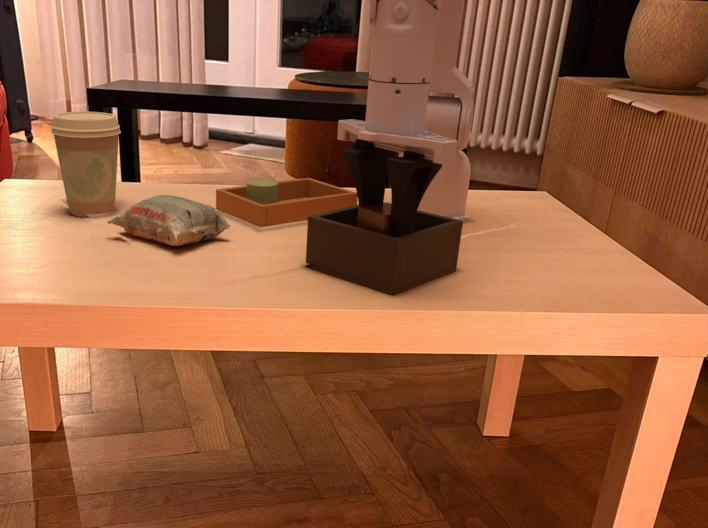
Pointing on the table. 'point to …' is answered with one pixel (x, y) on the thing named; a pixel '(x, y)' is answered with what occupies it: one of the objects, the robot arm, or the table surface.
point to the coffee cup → (87, 160)
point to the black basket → (382, 250)
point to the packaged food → (171, 220)
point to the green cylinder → (262, 191)
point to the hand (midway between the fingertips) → (385, 224)
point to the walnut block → (378, 220)
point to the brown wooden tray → (285, 202)
